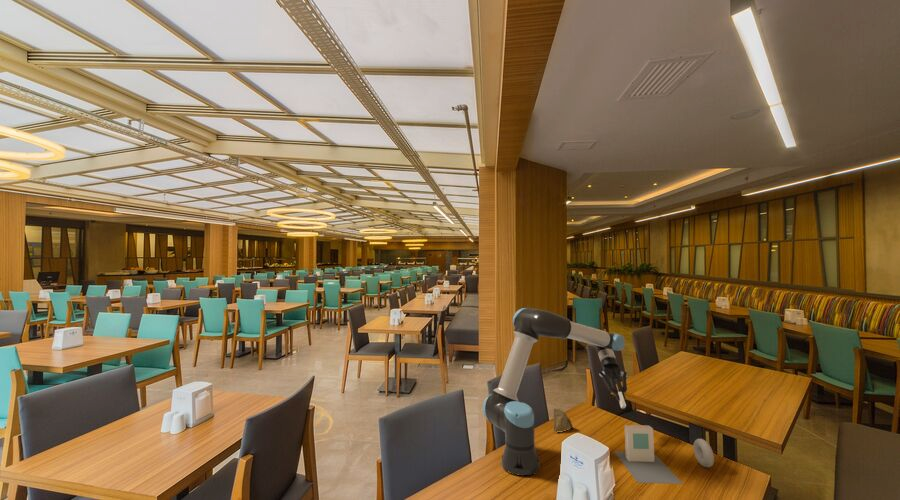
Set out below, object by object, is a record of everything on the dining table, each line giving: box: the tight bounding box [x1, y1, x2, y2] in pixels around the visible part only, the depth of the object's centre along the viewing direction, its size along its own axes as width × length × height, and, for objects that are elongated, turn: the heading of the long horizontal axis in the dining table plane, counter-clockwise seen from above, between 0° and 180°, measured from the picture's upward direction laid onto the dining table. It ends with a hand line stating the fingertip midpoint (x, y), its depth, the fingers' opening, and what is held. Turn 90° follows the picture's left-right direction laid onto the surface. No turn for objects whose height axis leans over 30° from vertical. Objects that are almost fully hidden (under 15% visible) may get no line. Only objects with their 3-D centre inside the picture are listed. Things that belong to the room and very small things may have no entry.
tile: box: [624, 424, 655, 462], centre depth 145 cm, size 3×10×13 cm, turn 86°
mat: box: [614, 451, 684, 485], centre depth 140 cm, size 22×16×1 cm
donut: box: [692, 438, 715, 468], centre depth 141 cm, size 10×4×10 cm, turn 175°
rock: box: [553, 408, 574, 432], centre depth 173 cm, size 11×9×10 cm
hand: (623, 406), depth 161 cm, fingers closed
